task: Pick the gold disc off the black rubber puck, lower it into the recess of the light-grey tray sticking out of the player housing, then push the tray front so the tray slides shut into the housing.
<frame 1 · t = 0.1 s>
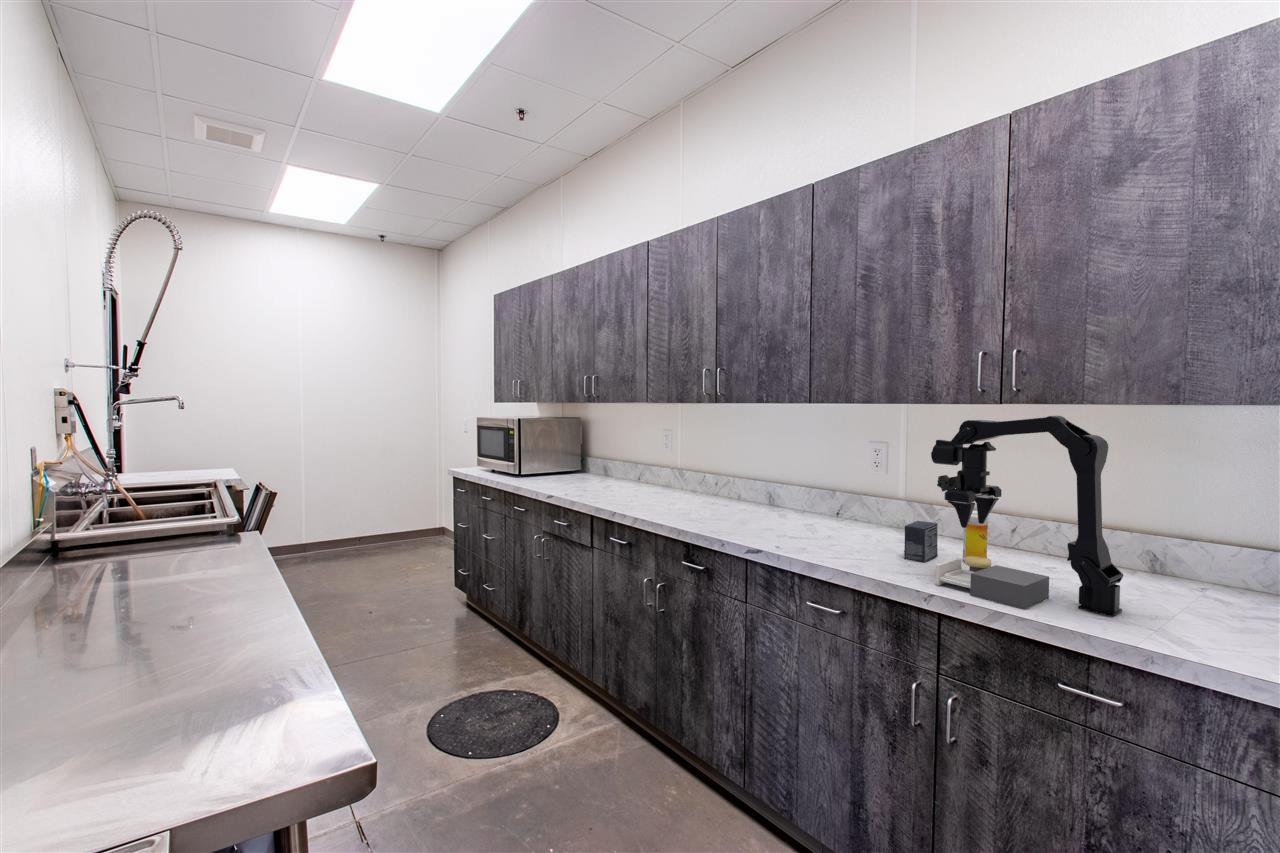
hand: (972, 525, 155), 14 cm above the countertop, tool pointing down, fingers open, 9 cm apart
disc: (978, 564, 157), point 3 cm above the countertop, touching puck
puck: (977, 577, 157), on the countertop
beer can: (974, 563, 173), on the countertop
small box: (920, 558, 178), on the countertop
housing: (1009, 596, 142), on the countertop
tray: (969, 576, 150), point 3 cm above the countertop, slide at 8.0 cm
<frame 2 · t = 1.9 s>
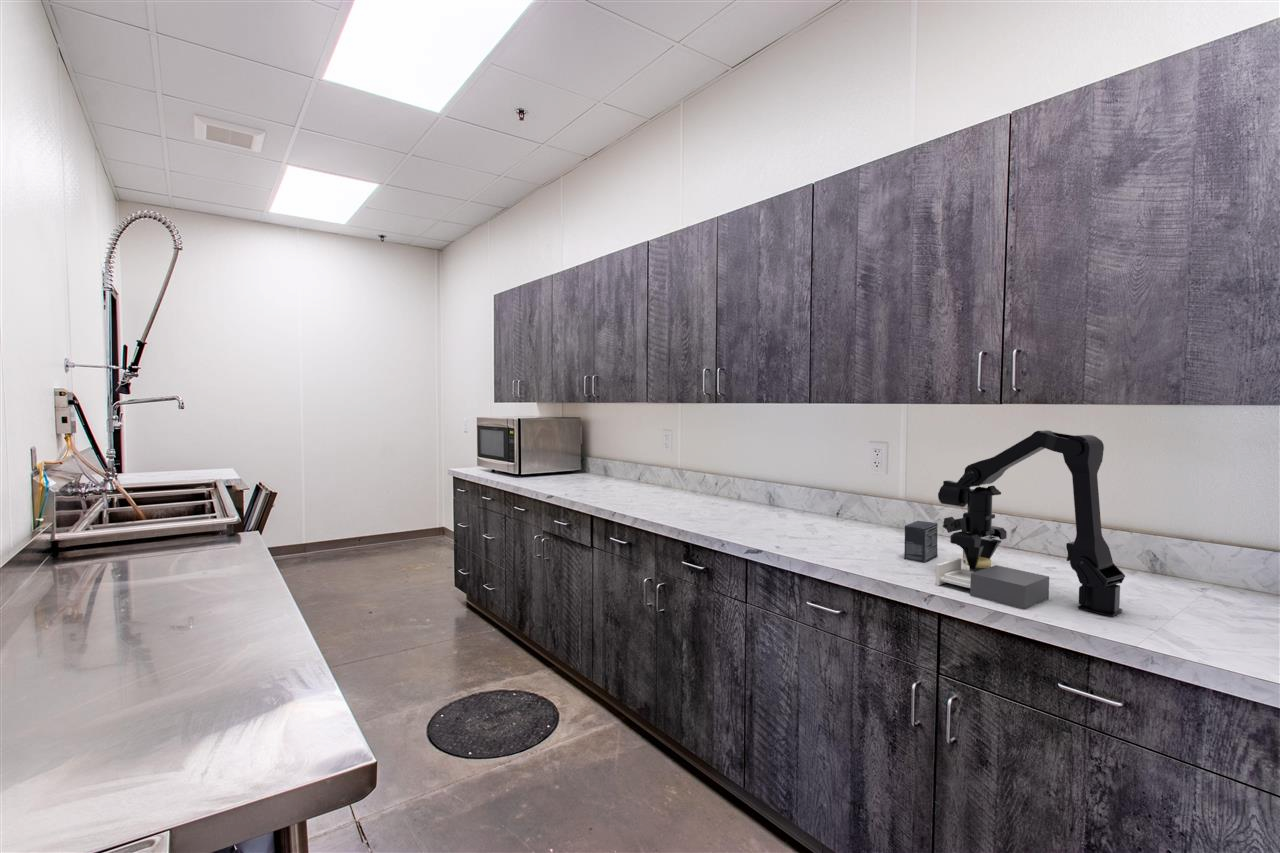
hand: (978, 567, 157), 3 cm above the countertop, tool pointing down, fingers closed on disc, 6 cm apart
disc: (978, 564, 157), point 4 cm above the countertop, touching gripper, puck
everything else where it was.
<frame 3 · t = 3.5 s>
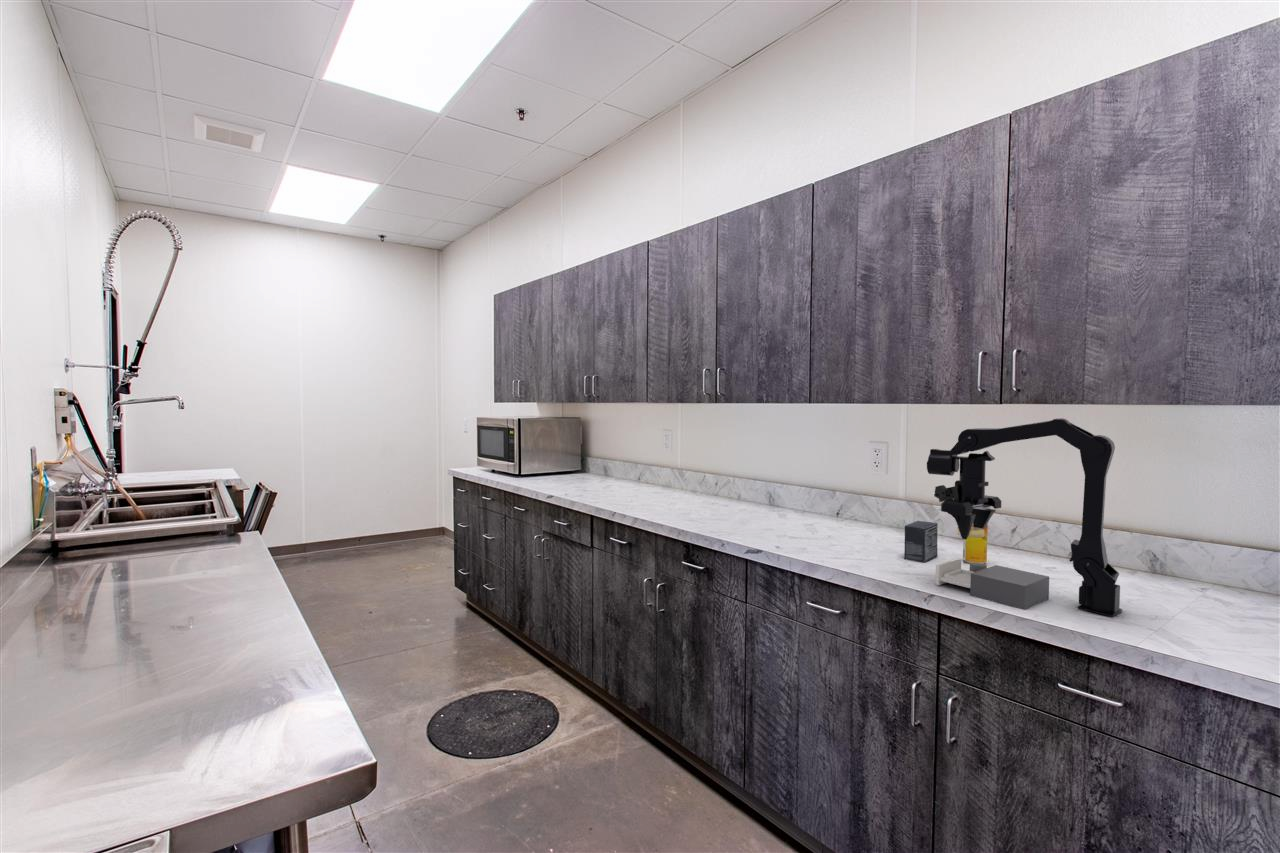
hand: (970, 537, 150), 12 cm above the countertop, tool pointing down, fingers closed on disc, 6 cm apart
disc: (970, 534, 151), point 13 cm above the countertop, touching gripper
everything else where it was.
when the fingers open (4 cm above the countertop, at t = 5.5 s): disc drops 2 cm, resting on tray.
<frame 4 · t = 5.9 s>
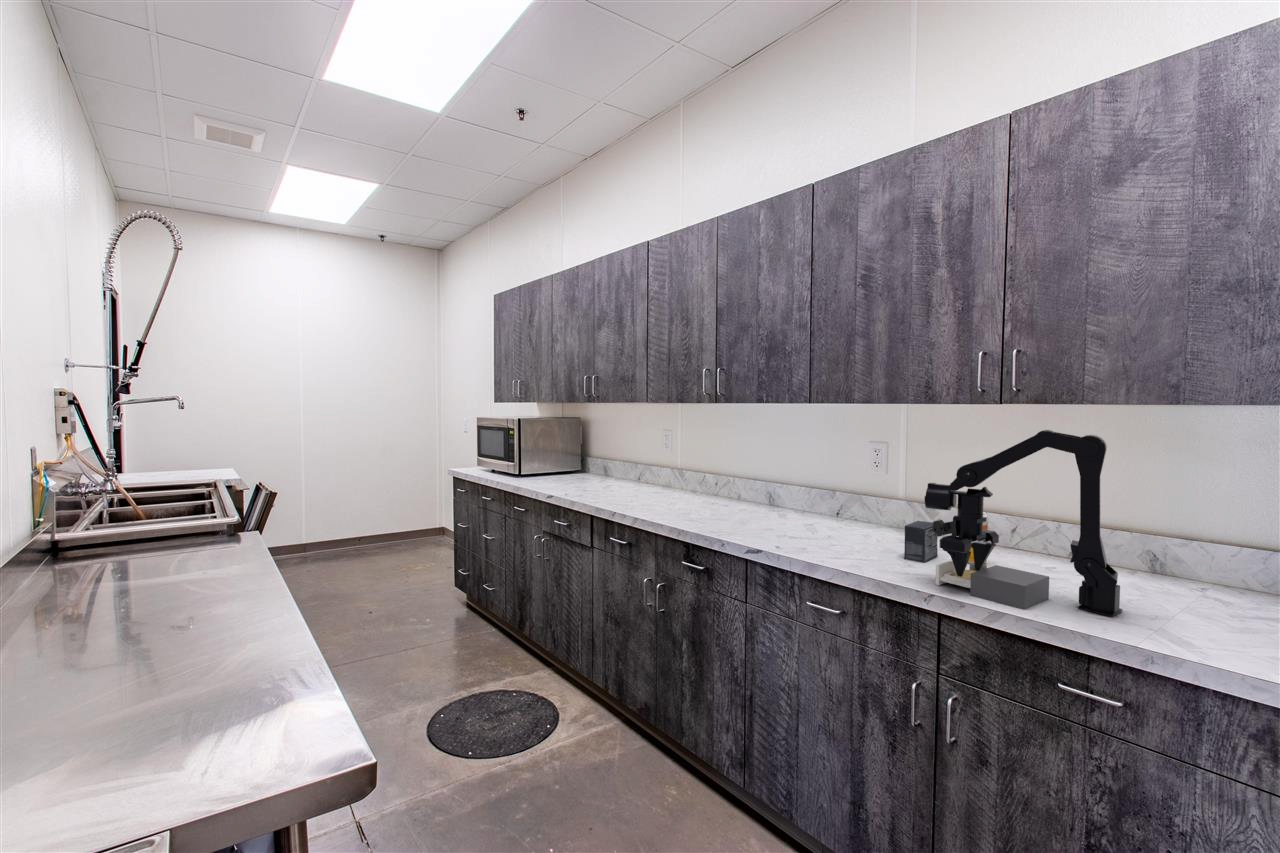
hand: (968, 573, 150), 4 cm above the countertop, tool pointing down, fingers open, 9 cm apart
disc: (968, 578, 150), point 2 cm above the countertop, touching tray
tray: (969, 576, 150), point 3 cm above the countertop, slide at 8.0 cm, touching disc
everything else where it was.
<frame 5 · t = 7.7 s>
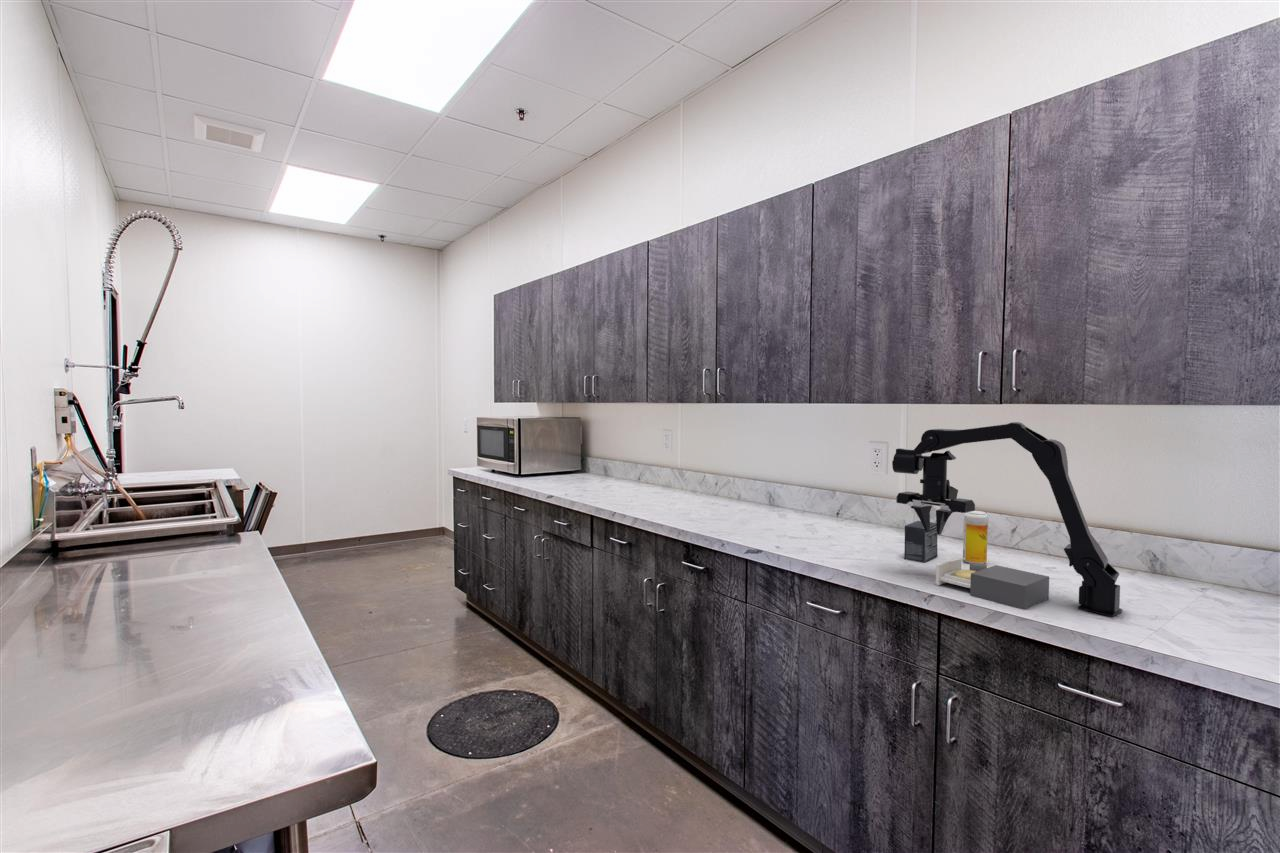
hand: (933, 533, 157), 12 cm above the countertop, tool pointing down, fingers open, 3 cm apart
nothing on the countertop moved.
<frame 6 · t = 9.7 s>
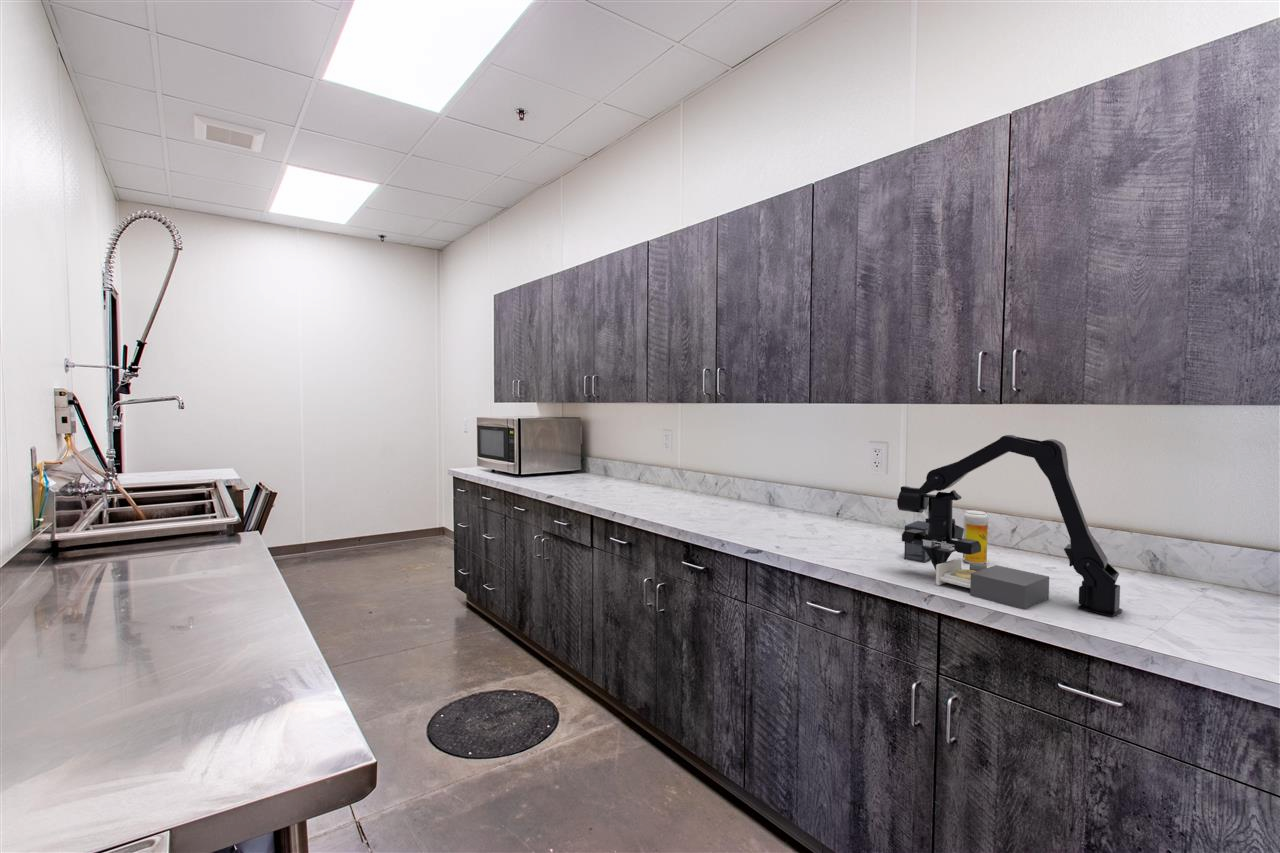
hand: (939, 573, 156), 2 cm above the countertop, tool pointing down, fingers closed
tray: (969, 576, 149), point 3 cm above the countertop, slide at 8.0 cm, touching disc, gripper
everything else where it was.
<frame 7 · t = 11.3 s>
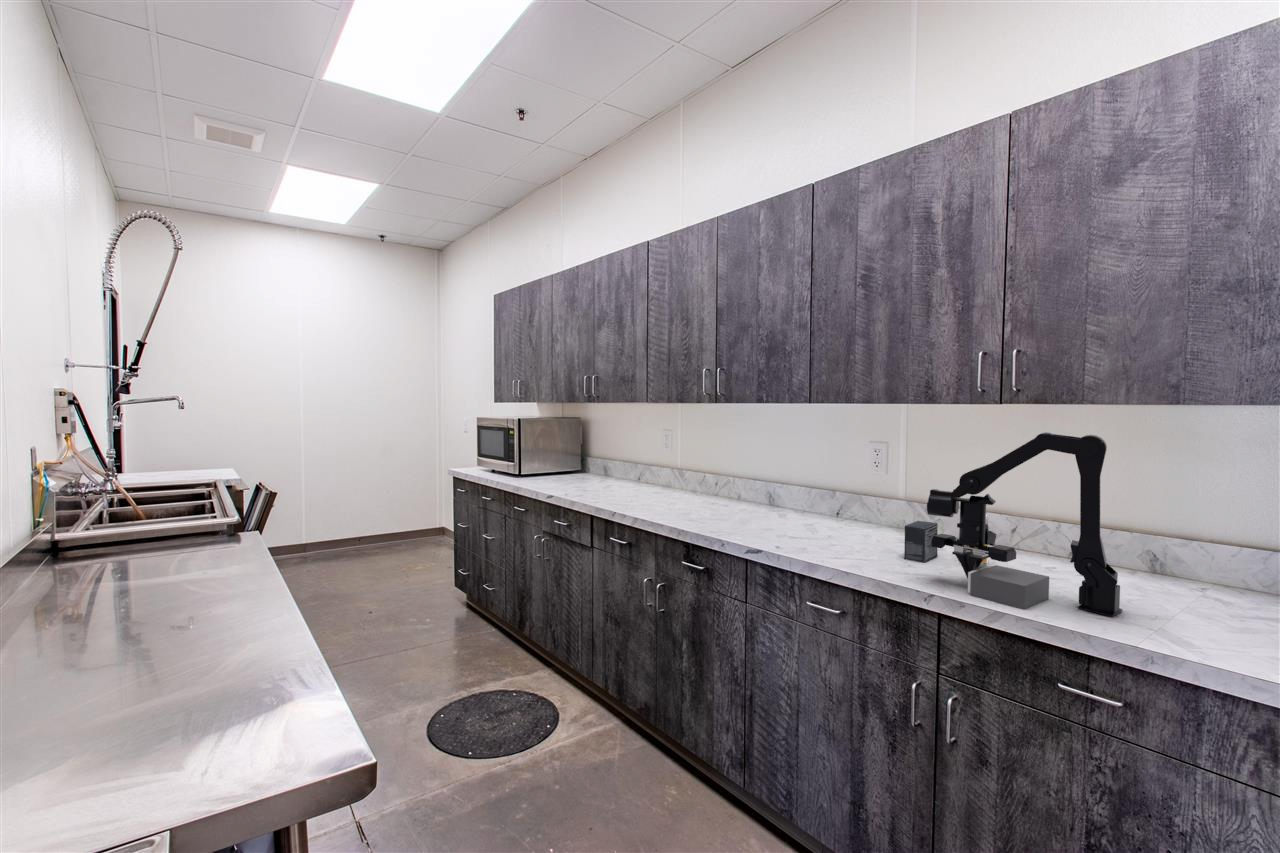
hand: (970, 580, 149), 2 cm above the countertop, tool pointing down, fingers closed
disc: (1002, 587, 143), point 2 cm above the countertop, touching tray
tray: (1003, 584, 143), point 3 cm above the countertop, slide at -0.1 cm, touching disc, gripper
everything else where it was.
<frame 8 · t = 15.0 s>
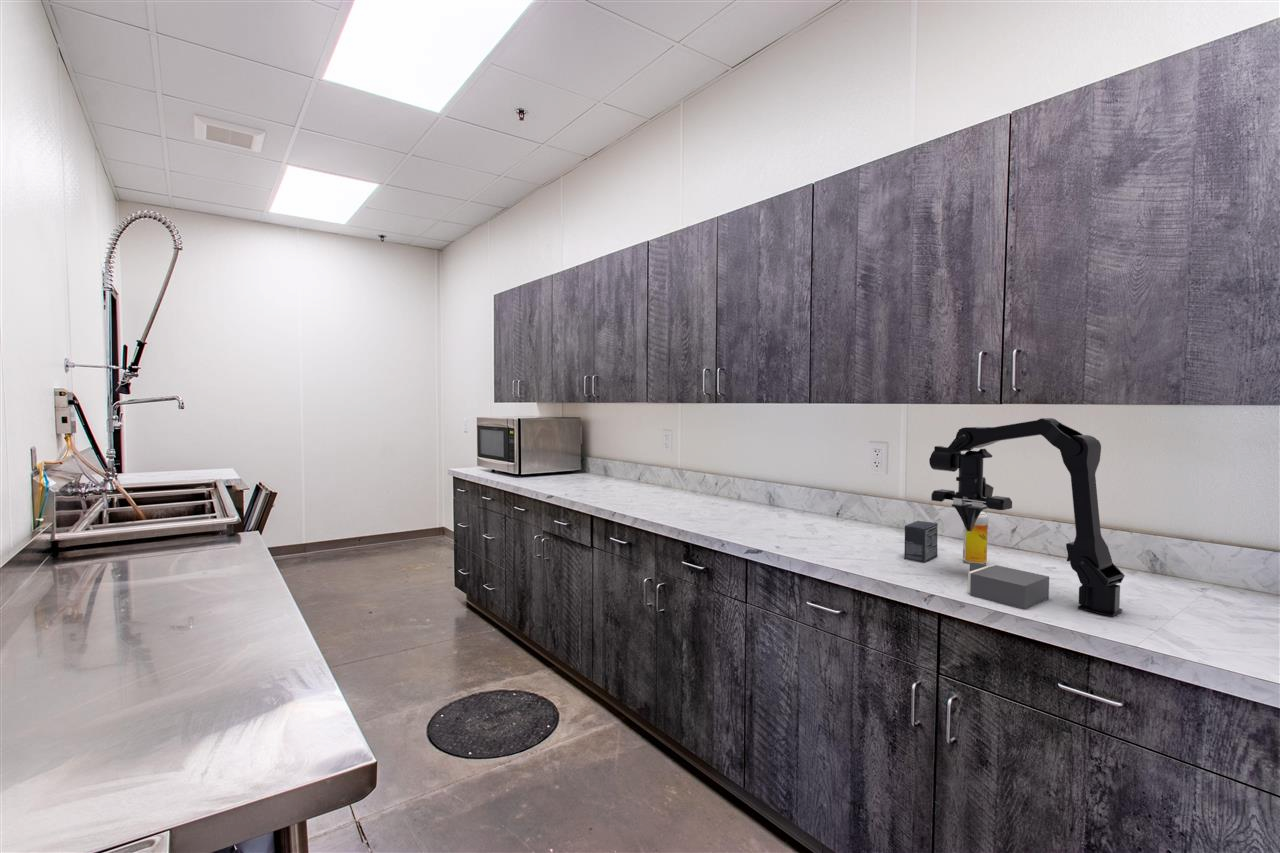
hand: (969, 530, 158), 12 cm above the countertop, tool pointing down, fingers closed
tray: (1003, 584, 143), point 3 cm above the countertop, slide at 0.0 cm, touching disc
everything else where it was.
at the end: tray slide at 0.0 cm; disc inside the target area on the housing (0.4 cm from its centre), point 2.0 cm above the housing's base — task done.
